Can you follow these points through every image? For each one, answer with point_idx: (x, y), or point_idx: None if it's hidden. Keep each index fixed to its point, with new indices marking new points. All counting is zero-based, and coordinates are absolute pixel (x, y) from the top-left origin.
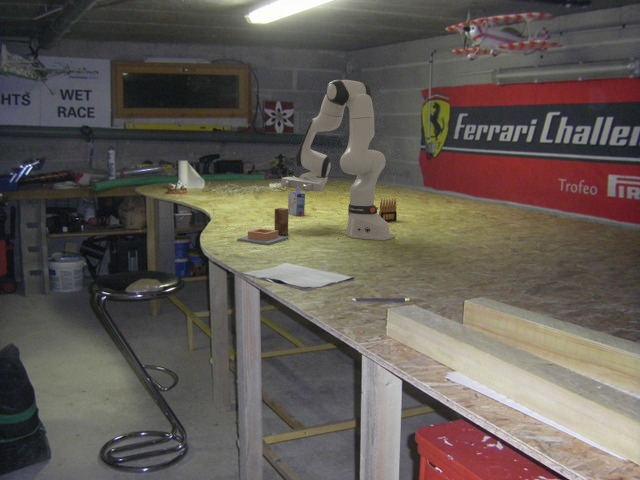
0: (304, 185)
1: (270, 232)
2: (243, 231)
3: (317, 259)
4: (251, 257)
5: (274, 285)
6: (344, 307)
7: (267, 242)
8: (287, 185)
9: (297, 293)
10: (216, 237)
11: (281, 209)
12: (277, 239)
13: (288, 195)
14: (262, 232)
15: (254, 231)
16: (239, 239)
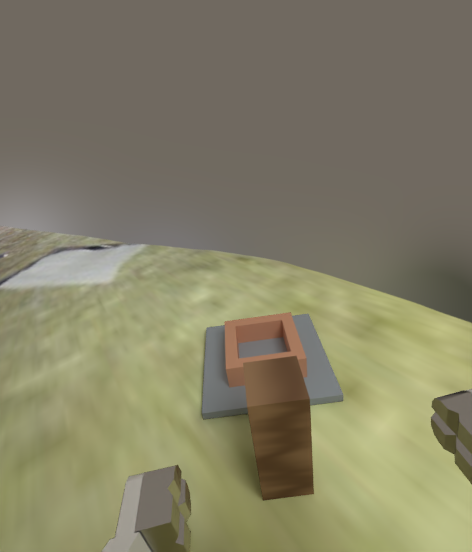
0: (155, 470)
1: (226, 337)
2: None
3: (57, 316)
4: (178, 273)
5: (95, 242)
6: (17, 245)
7: (211, 328)
8: (431, 420)
9: (66, 242)
10: (388, 313)
11: (257, 364)
12: (211, 364)
13: None
14: None
15: (283, 327)
16: (300, 316)
